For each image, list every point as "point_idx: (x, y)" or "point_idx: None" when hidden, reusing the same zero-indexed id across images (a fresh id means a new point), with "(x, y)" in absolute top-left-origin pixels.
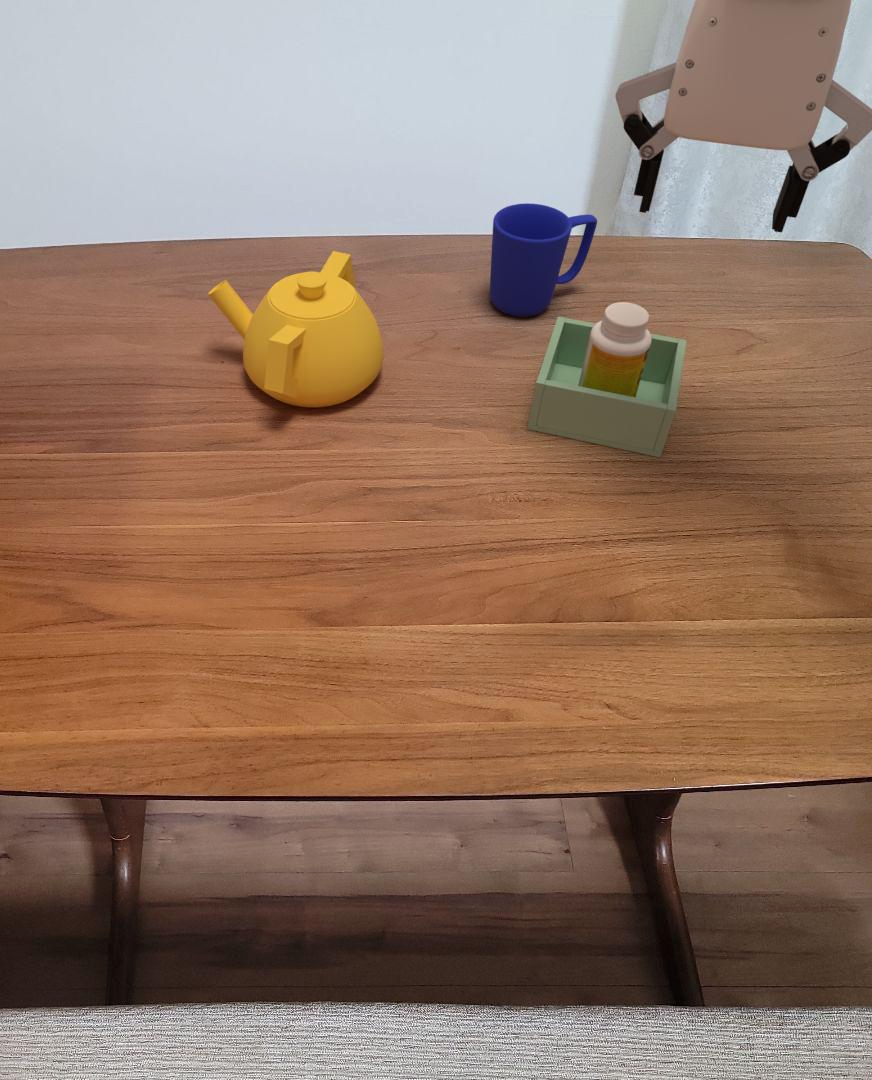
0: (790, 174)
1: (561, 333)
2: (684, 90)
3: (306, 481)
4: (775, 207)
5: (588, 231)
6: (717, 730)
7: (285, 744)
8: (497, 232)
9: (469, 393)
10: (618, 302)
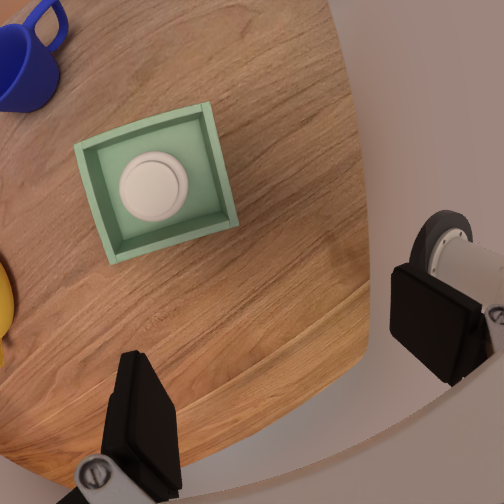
0: (455, 362)
1: (87, 160)
2: None
3: (56, 372)
4: (400, 286)
5: (54, 7)
6: (316, 377)
7: None
8: None
9: (60, 234)
10: (130, 172)
